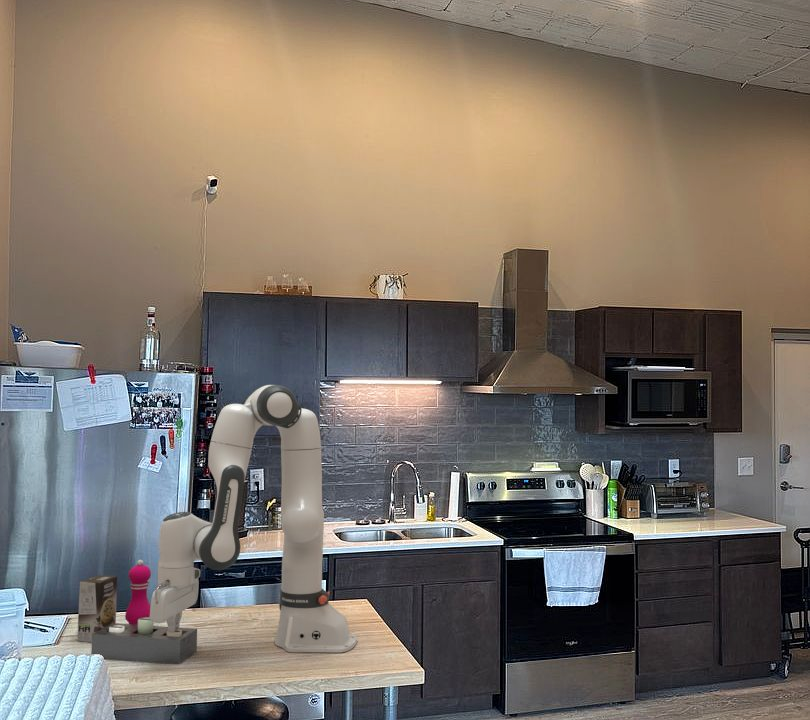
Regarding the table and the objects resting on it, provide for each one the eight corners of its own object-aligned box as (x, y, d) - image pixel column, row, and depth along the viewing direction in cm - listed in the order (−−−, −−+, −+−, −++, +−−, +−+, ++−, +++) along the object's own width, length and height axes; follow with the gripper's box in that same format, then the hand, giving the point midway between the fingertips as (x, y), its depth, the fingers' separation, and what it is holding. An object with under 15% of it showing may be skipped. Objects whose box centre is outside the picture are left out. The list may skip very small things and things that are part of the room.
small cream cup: (126, 643, 208) (127, 625, 208) (119, 647, 204) (119, 629, 205) (113, 642, 209) (113, 624, 209) (105, 646, 205) (106, 628, 205)
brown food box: (97, 643, 214) (99, 582, 215) (76, 641, 216) (78, 581, 216) (116, 633, 223) (118, 575, 224) (95, 631, 225) (97, 573, 225)
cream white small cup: (184, 647, 206) (184, 629, 206) (177, 651, 202) (177, 633, 202) (170, 646, 206) (170, 628, 206) (163, 650, 202) (164, 632, 203)
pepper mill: (146, 634, 222) (148, 562, 223) (120, 634, 222) (123, 562, 223) (155, 627, 229) (157, 557, 230) (130, 626, 230) (132, 556, 231)
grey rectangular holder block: (196, 651, 208) (197, 628, 208) (179, 664, 198) (180, 640, 199) (112, 645, 212) (112, 623, 212) (91, 657, 202) (92, 633, 203)
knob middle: (155, 635, 207) (156, 617, 207) (148, 639, 203) (148, 621, 203) (141, 634, 208) (142, 616, 208) (134, 638, 204) (135, 620, 204)
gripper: (168, 586, 194) (166, 643, 193) (203, 568, 214) (201, 620, 213) (144, 584, 195) (142, 641, 194) (181, 567, 215) (179, 619, 215)
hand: (173, 630), depth 204 cm, fingers closed, pressing on cream white small cup
